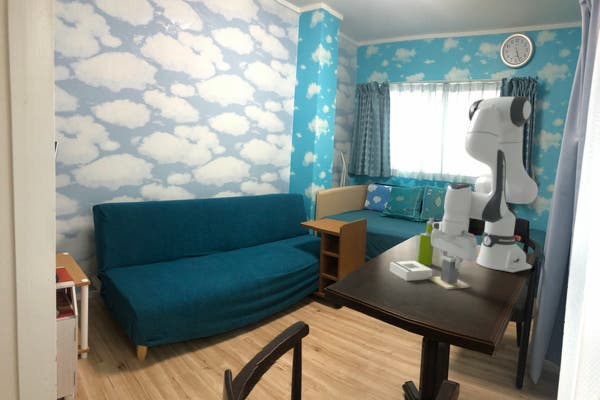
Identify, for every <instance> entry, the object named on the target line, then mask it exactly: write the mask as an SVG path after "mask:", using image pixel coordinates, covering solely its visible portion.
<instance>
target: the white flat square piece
mask: <svg viewBox="0 0 600 400" xmlns="http://www.w3.org/2000/svg"><path fill="white" fill-rule="evenodd" d="M389 271H390V273H393V274H394V275H396V276H398V277H399V278H401V279H402V280H404V281H406V282H409V281H420V280H421V281H422V280H429V277H433V269H431V268H429V267H428V266H427V265H423V264H420V263H418V261H416V260H407V261H406V260H404V261H402V260H401V261H394V260H393V261H391V262H390V263H389Z"/></svg>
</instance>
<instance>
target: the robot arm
mask: <svg viewBox="0 0 600 400" xmlns="http://www.w3.org/2000/svg"><path fill="white" fill-rule="evenodd" d="M531 113H532V103H531V101H530V99H529V98H528V97H527V96H521V95H516V96H499V97H493V98H487V99H485V98H484V99H483V98H481V99H478V100H475V101H474V102H473V103H472V104H471V106H470V107H469V110H468V119H469V121H470V123H469V125H468V129H467V132H466V136H465V141H464V142H465V143H464V148H465V151H466V152H467V154H468V155H469V156H470V157H471V158H472V159H474V160H476V161H478V162H480V163H483V164H485V165H487V167H489V168H490V171H491V173H488V174H481V175H479V176H478V177H477V179H476V181H475V183H474V191H472V185H470V184H469V183H466V182H453V183H451V184H448V186H447V189H446V192H445V197H444V204H443V209H444V214H443V216H442V221H434V222H435V223H433V224H432V227H433V228H434V229H433V230H432V234H431V244H432V246H433V248H435V249H439V250H440V256H441V258H443V256H448V254H451V256H454V257H456V259H457V261H456V262H454V263H453V267H454V268H459V269H460V268H461V264H462V262H463V261H467V262H472V261H476V264H477V265H479V266H481V267H484V268H488V269H493V270H497V271H498V270H499V271H504V272H509V273H516V272H521V271H525V270H530V269H532V268H533V267H532V265H531V264H529V263H528V262H527V254H526V252H525V251H524V250H522V248H520V247H519V246H518V244H517V243H516V241H517V242H520V241H521V239H522V237H521V236H520V235H514V234H515V226H516V216H515V214H514V213H513V212H512V211H510V209H509V208H508V206H507V203H509V204H516V205H517V204H519V205H520V204H521V205H522V204H526V205H527V204H532V202H533V201H534V200H536V198H537V196H538V192H539V188H538V184H537V182H536V181H535V180H534V179H532V177H530V175H529V174H528V173H527V170H526V169H525V166H524V162H523V138H524V136H523V125H524V124H526V122H528V120H529V119H530V116H531ZM470 219H476V220H481V221H484V223H485V224H484V230H483V232H482V242H481V245H480V248H479V253H478V243H477V241H478V239H477V238H476V236H475V234H474V233H471V232H469V228H470V227H469V226H470V225H469V224H470ZM442 262H443V259H442V261H441V263H442Z"/></svg>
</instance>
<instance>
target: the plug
mask: <svg viewBox="0 0 600 400" xmlns="http://www.w3.org/2000/svg"><path fill="white" fill-rule="evenodd" d="M441 258H442V257H441ZM442 259H443V262H442V261H441V263H442V264H441V270H440V271H441V273H440V274H441V275H440V276H441V280H442V281H444V282H446V283H448V284H449V283H457V279H458V278H459V277H458V276H459V271H460V270H459V269H460V268H454V267H453V263H454V262H456V261H457V259H456V256H455V255H447V256H443V258H442Z"/></svg>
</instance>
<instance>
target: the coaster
mask: <svg viewBox="0 0 600 400" xmlns="http://www.w3.org/2000/svg"><path fill="white" fill-rule="evenodd" d="M428 281H431V282H432V283H434V284H435V285H438V286H439V287H441V288H444V289H445V290H456V289H465V288H470V286H471V285H470V284H468V283H466V282H464V281H462V280H460V279H457V283H449V284H448V283H446V282H444V281H442V280H441V275H440V276H432V277H429V279H428Z"/></svg>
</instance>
